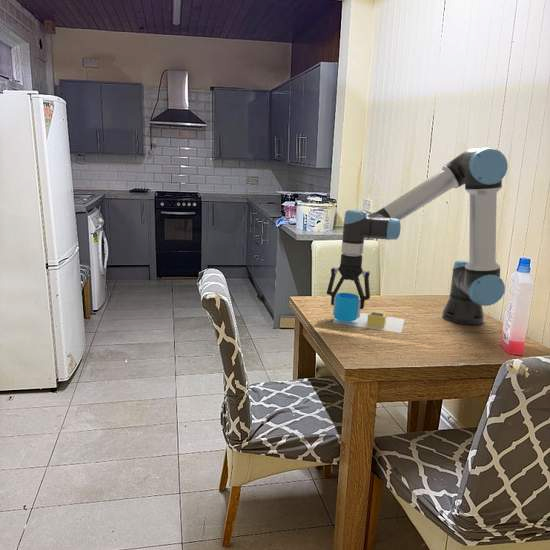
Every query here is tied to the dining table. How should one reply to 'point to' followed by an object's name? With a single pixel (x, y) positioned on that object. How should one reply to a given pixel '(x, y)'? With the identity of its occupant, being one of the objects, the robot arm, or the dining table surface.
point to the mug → (346, 306)
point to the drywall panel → (390, 325)
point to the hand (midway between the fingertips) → (346, 315)
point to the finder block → (376, 319)
